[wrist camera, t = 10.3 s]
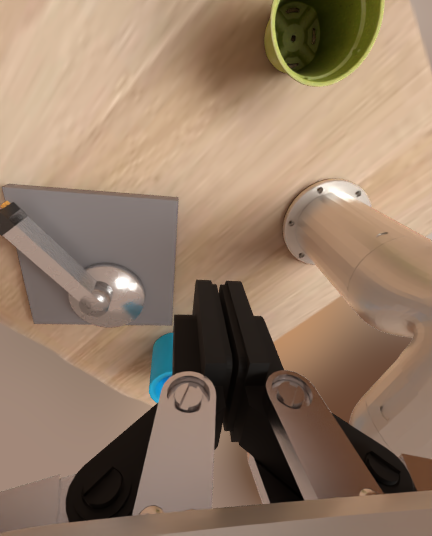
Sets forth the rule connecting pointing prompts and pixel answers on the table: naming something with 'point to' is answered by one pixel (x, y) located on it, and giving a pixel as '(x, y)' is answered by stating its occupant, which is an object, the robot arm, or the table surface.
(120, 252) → the stand base
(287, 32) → the plant pot
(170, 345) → the mug
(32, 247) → the lever
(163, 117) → the table surface
